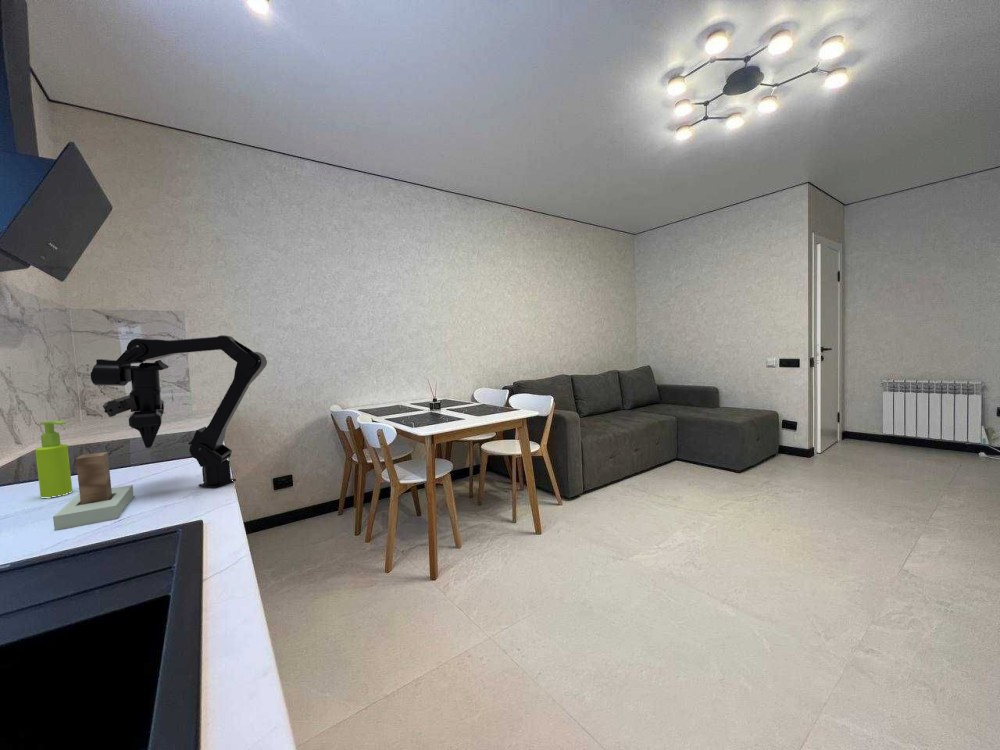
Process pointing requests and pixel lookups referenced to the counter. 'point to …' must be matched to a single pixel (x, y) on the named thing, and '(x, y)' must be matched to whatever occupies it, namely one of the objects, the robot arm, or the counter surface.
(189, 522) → the counter surface
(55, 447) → the soap dispenser
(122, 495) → the sage rectangular frame
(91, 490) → the walnut post
